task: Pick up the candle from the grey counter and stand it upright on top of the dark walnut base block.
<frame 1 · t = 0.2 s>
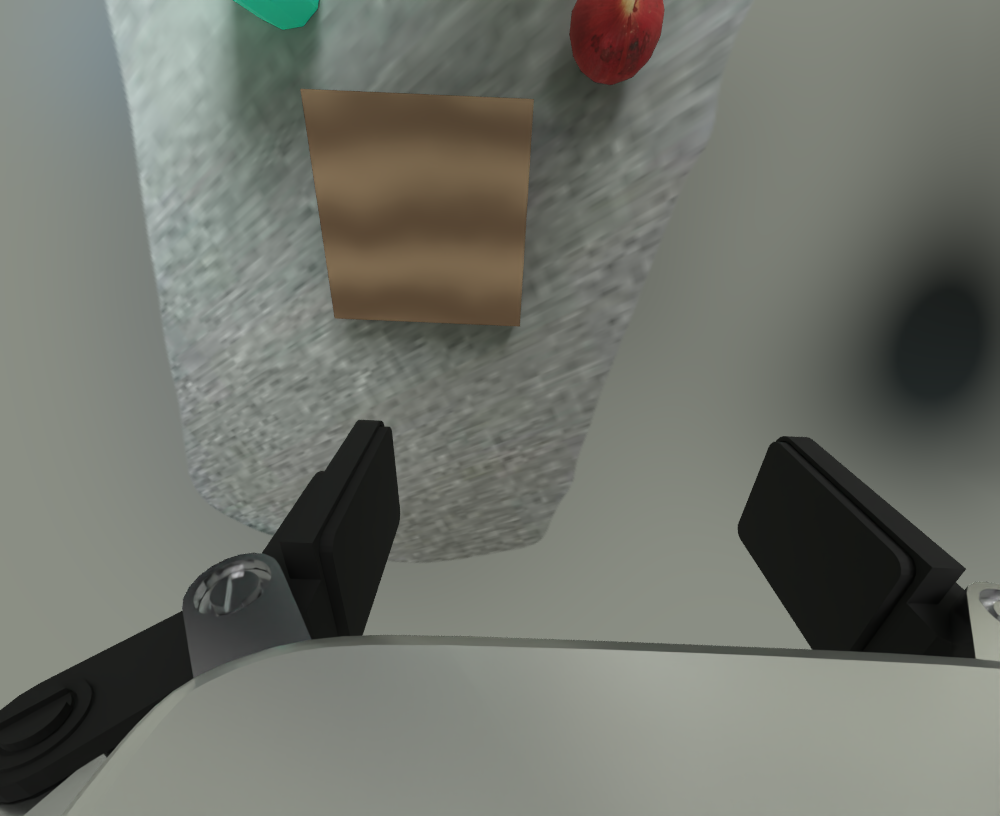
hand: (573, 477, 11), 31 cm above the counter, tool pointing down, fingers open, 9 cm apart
onion: (603, 44, 31), on the counter
walnut base: (431, 217, 36), on the counter
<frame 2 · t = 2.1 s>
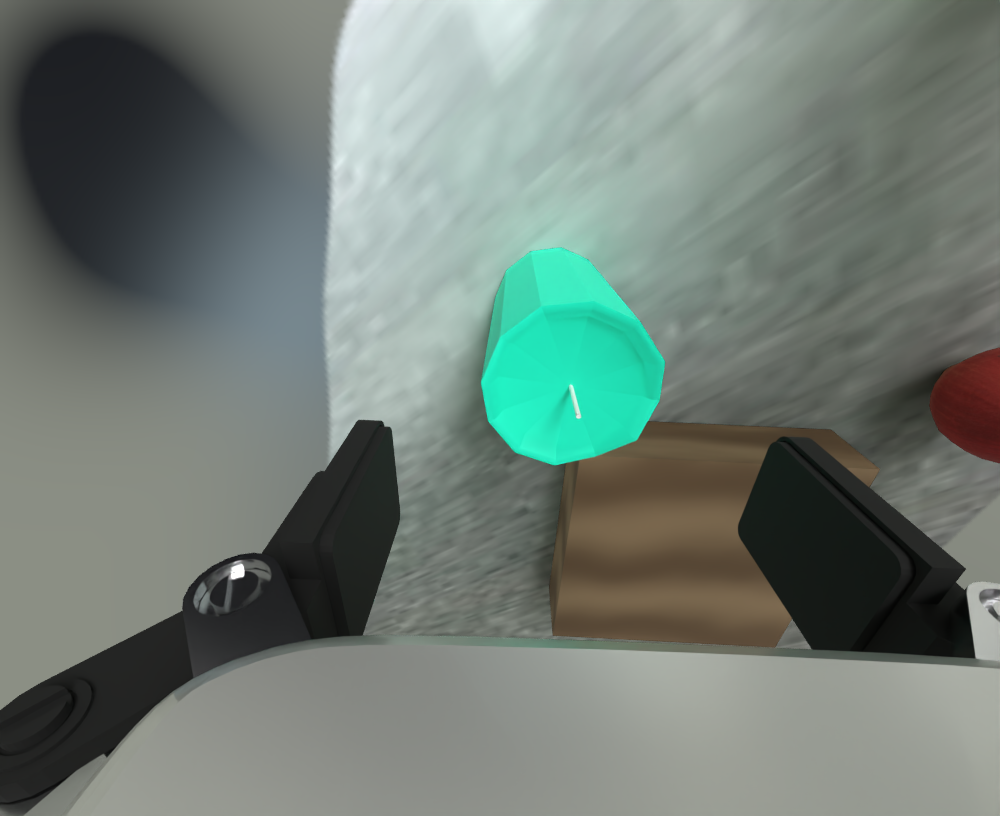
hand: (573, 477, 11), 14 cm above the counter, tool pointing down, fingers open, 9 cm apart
onion: (945, 372, 24), on the counter
candle: (549, 304, 23), on the counter
walnut base: (671, 519, 30), on the counter
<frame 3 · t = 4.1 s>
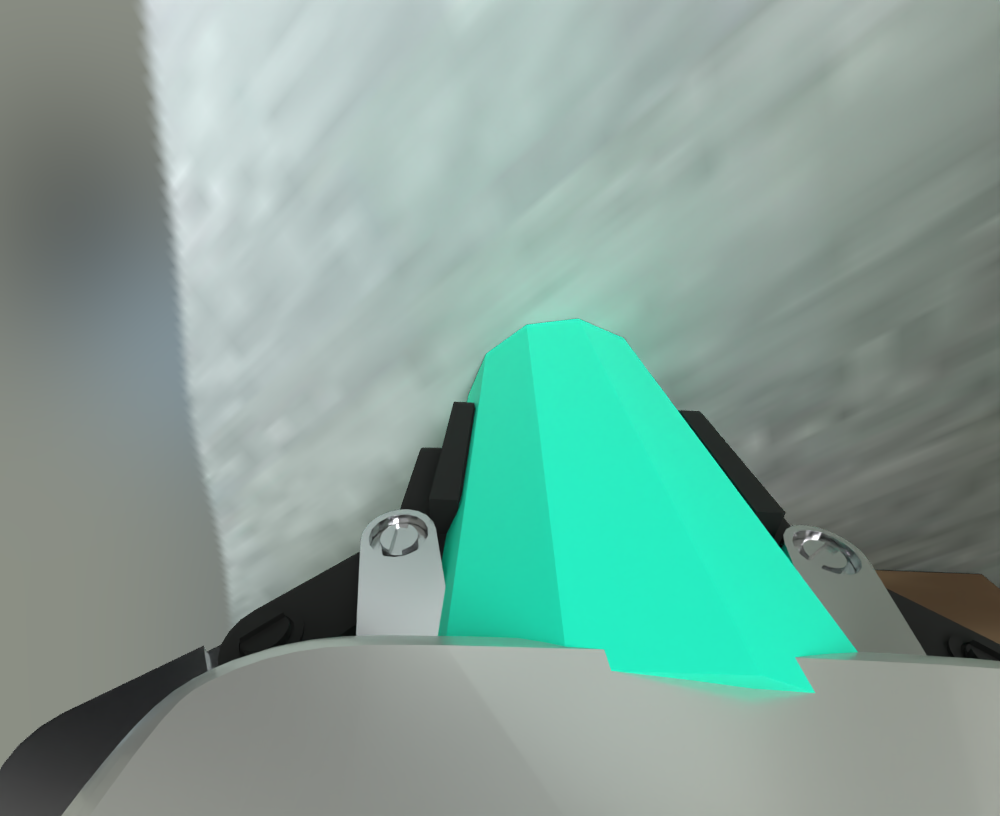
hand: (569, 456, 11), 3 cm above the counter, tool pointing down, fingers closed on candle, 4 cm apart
candle: (557, 403, 14), on the counter, touching gripper
walnut base: (729, 679, 21), on the counter
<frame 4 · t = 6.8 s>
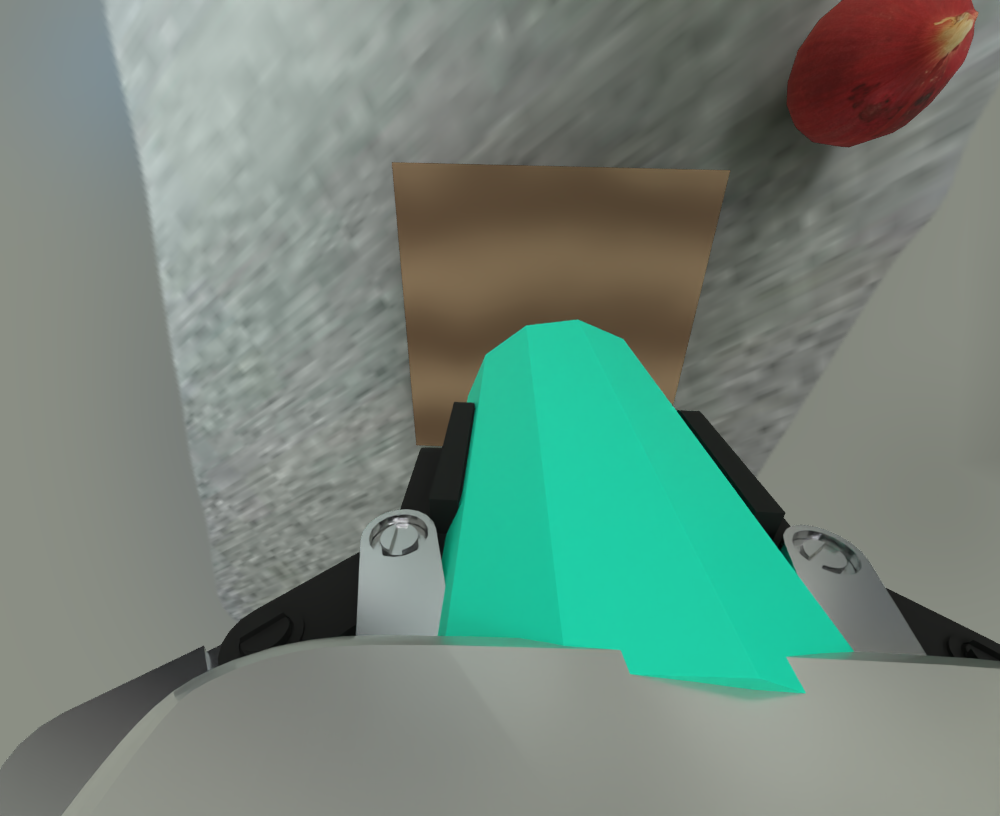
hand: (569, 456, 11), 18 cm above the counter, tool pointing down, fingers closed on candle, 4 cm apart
onion: (811, 85, 22), on the counter
candle: (557, 404, 14), point 14 cm above the counter, touching gripper
walnut base: (542, 311, 27), on the counter
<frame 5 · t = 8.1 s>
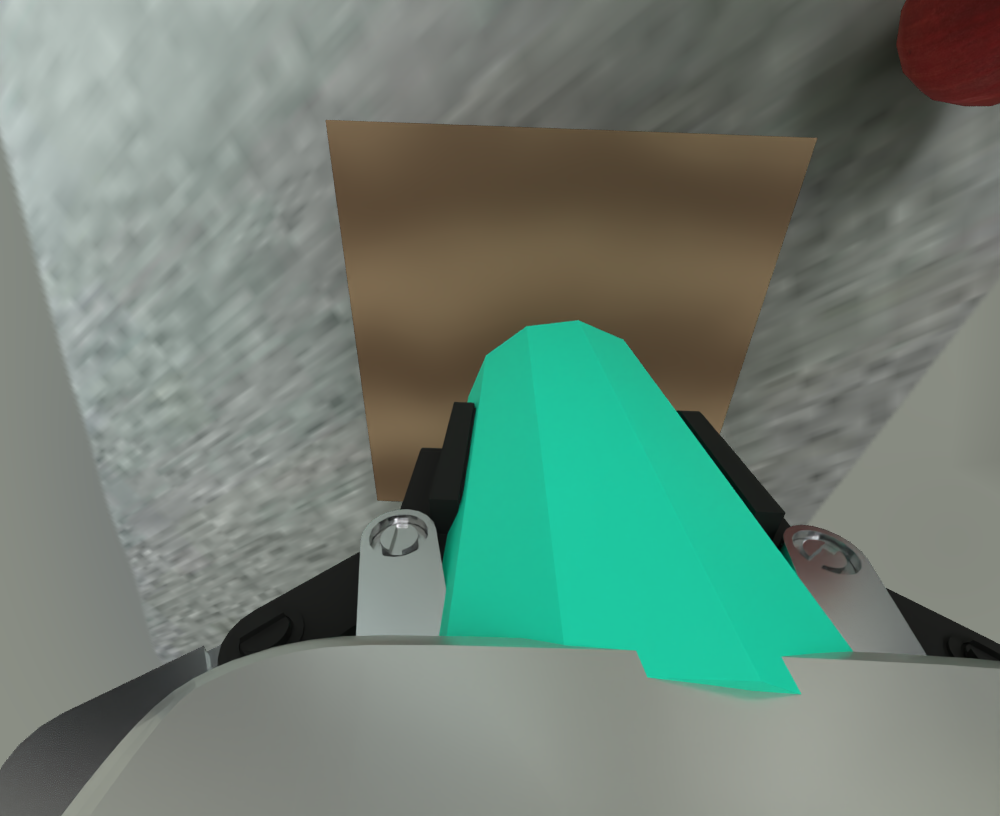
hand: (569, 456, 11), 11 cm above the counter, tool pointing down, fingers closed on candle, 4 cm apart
onion: (922, 24, 15), on the counter
candle: (557, 405, 14), point 8 cm above the counter, touching gripper
walnut base: (542, 329, 21), on the counter
when the fingers open (8 cm above the counter, at t = 9.4 s): candle drops 1 cm, resting on walnut base.
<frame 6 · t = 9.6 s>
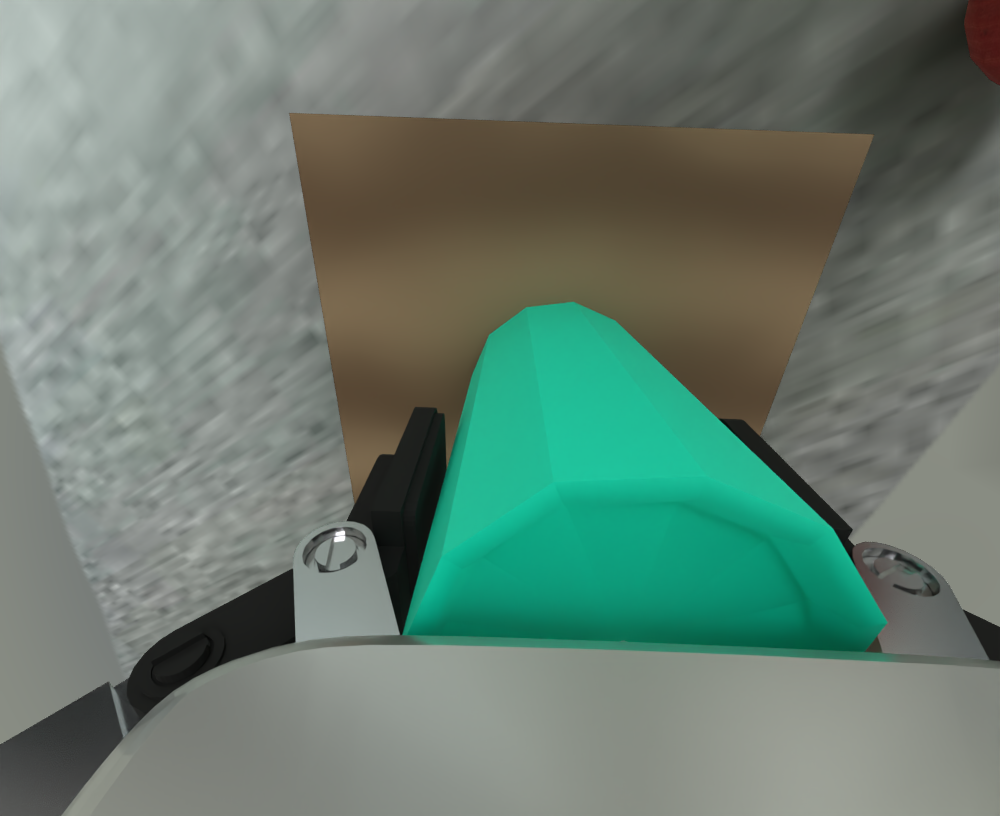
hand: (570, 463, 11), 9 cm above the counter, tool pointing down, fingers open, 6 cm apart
onion: (987, 4, 13), on the counter
candle: (555, 384, 15), point 4 cm above the counter, touching walnut base
walnut base: (545, 350, 19), on the counter
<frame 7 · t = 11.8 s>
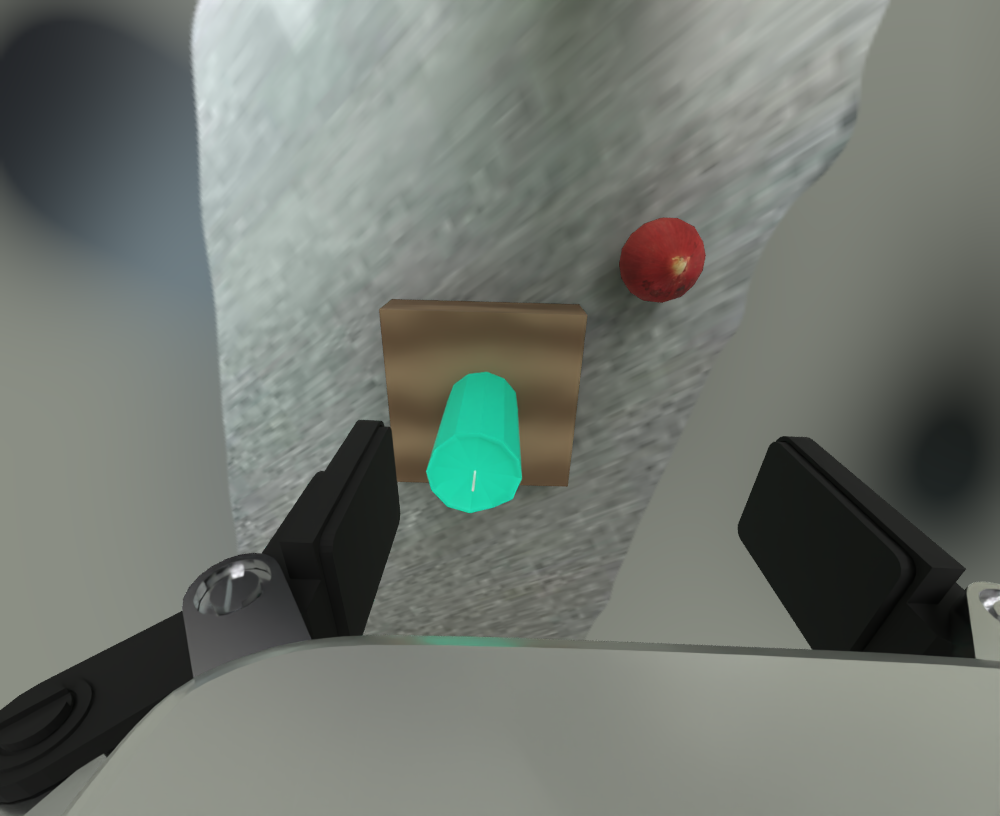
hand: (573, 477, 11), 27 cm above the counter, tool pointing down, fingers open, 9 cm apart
onion: (645, 256, 34), on the counter
candle: (482, 403, 36), point 4 cm above the counter, touching walnut base
walnut base: (484, 388, 39), on the counter
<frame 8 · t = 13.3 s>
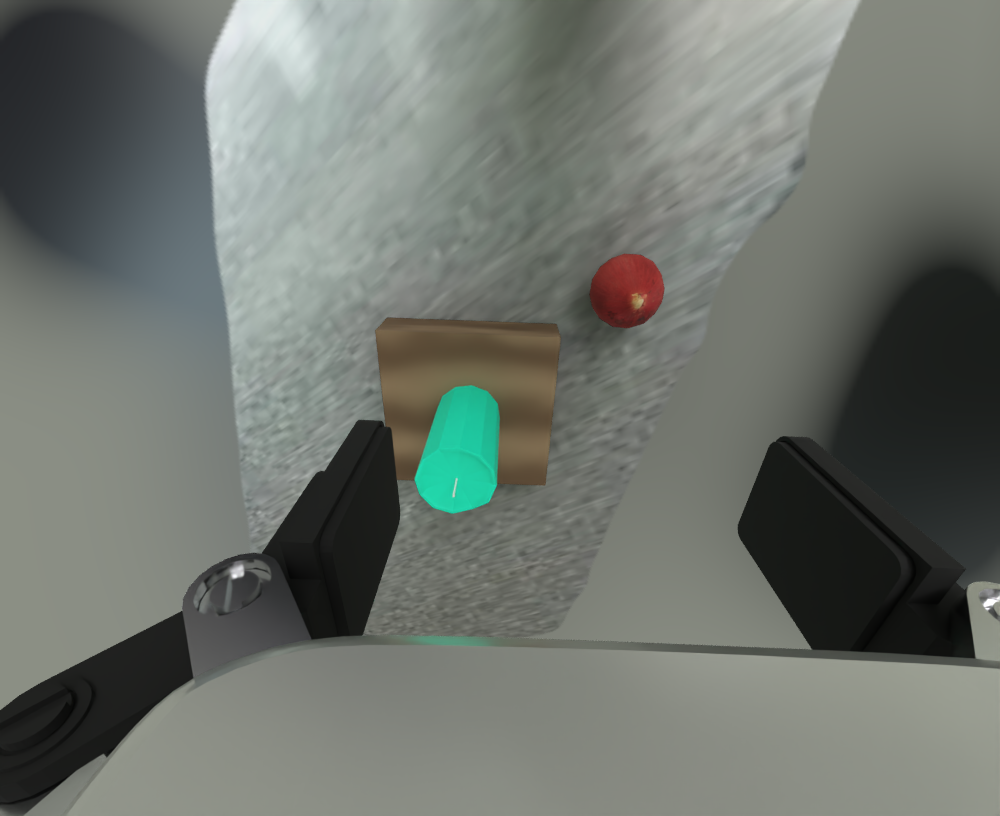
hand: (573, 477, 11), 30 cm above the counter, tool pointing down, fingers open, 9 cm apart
onion: (615, 282, 38), on the counter
candle: (468, 412, 40), point 4 cm above the counter, touching walnut base
walnut base: (471, 396, 43), on the counter
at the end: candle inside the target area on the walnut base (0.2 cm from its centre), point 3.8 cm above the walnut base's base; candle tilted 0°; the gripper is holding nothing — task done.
